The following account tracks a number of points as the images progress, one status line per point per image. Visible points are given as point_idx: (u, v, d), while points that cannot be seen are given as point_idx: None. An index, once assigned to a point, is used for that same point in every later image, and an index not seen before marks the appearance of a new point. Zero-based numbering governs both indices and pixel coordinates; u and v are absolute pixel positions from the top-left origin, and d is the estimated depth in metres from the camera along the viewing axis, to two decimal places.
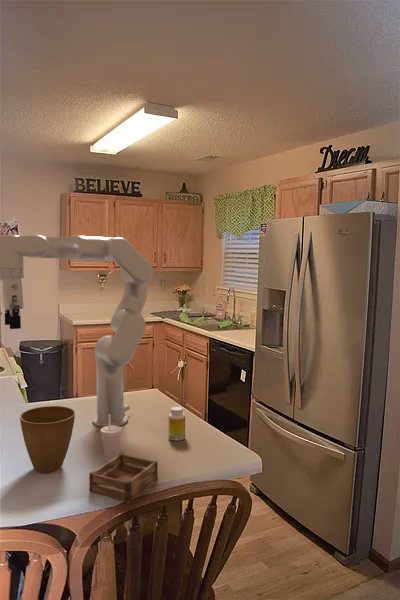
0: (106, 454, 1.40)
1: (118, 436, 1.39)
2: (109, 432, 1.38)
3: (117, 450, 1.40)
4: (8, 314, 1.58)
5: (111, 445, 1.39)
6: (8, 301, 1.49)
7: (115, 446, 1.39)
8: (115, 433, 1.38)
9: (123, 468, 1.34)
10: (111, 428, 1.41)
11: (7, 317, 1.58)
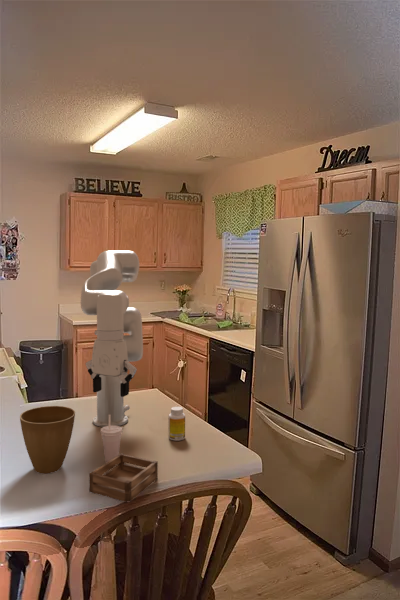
0: (106, 454, 1.40)
1: (118, 436, 1.39)
2: (109, 432, 1.38)
3: (117, 450, 1.40)
4: None
5: (111, 445, 1.39)
6: None
7: (115, 446, 1.39)
8: (115, 433, 1.38)
9: (123, 468, 1.34)
10: (111, 428, 1.41)
11: None
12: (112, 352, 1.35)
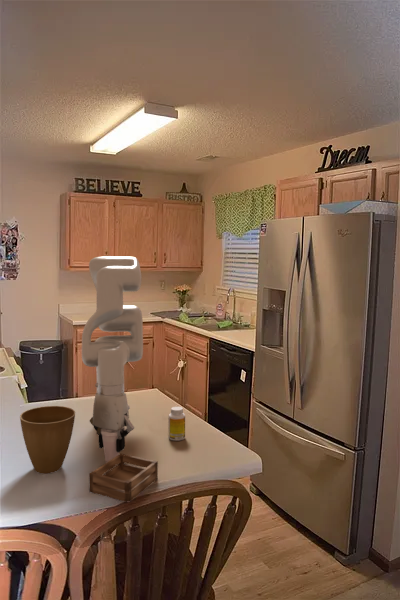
0: (106, 454, 1.40)
1: None
2: (109, 432, 1.38)
3: None
4: None
5: (111, 445, 1.39)
6: None
7: (115, 446, 1.39)
8: (115, 433, 1.38)
9: (123, 468, 1.34)
10: None
11: None
12: (113, 406, 1.36)
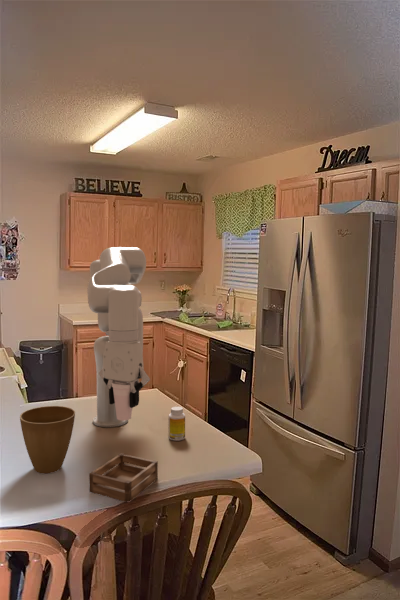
0: (118, 410, 1.23)
1: None
2: (122, 384, 1.22)
3: None
4: None
5: (124, 399, 1.22)
6: None
7: (128, 401, 1.23)
8: (128, 386, 1.21)
9: (123, 468, 1.34)
10: None
11: None
12: (126, 355, 1.20)
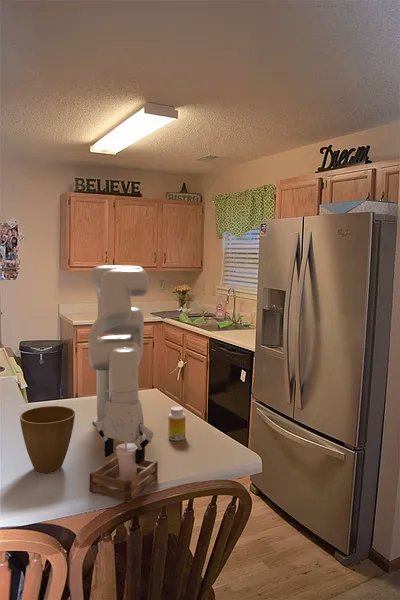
0: (122, 476, 1.24)
1: None
2: (126, 451, 1.23)
3: (135, 471, 1.25)
4: None
5: (128, 465, 1.23)
6: None
7: (132, 467, 1.24)
8: (132, 452, 1.23)
9: None
10: (127, 446, 1.26)
11: None
12: (126, 415, 1.21)
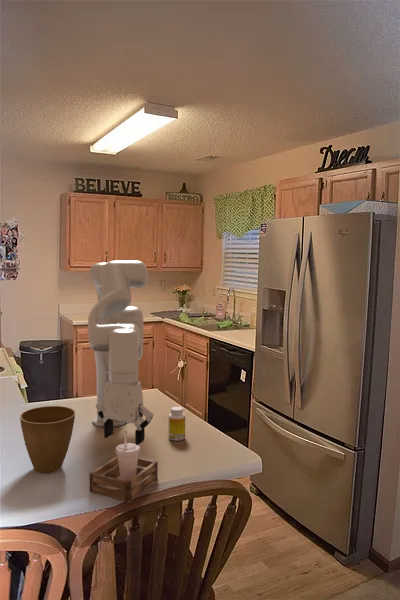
0: (122, 476, 1.24)
1: (136, 455, 1.24)
2: (126, 451, 1.23)
3: (135, 471, 1.25)
4: None
5: (128, 465, 1.23)
6: None
7: (132, 467, 1.24)
8: (132, 452, 1.23)
9: None
10: (127, 446, 1.26)
11: None
12: (126, 396, 1.21)
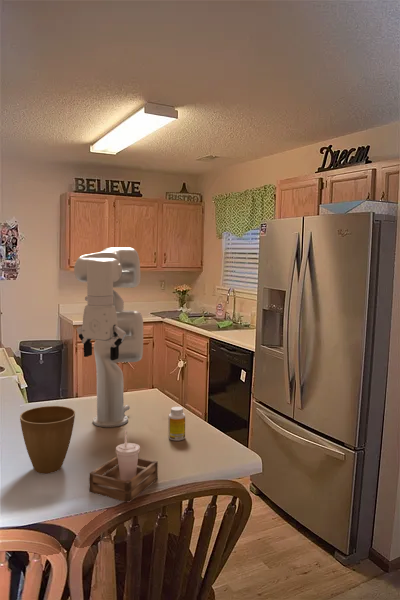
0: (122, 476, 1.24)
1: (136, 455, 1.24)
2: (126, 451, 1.23)
3: (135, 471, 1.25)
4: None
5: (128, 465, 1.23)
6: None
7: (132, 467, 1.24)
8: (132, 452, 1.23)
9: None
10: (127, 446, 1.26)
11: None
12: (102, 317, 1.39)
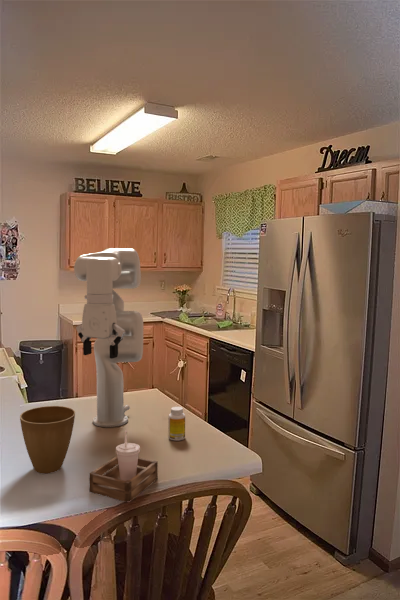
0: (122, 476, 1.24)
1: (136, 455, 1.24)
2: (126, 451, 1.23)
3: (135, 471, 1.25)
4: None
5: (128, 465, 1.23)
6: None
7: (132, 467, 1.24)
8: (132, 452, 1.23)
9: None
10: (127, 446, 1.26)
11: None
12: (101, 315, 1.39)
